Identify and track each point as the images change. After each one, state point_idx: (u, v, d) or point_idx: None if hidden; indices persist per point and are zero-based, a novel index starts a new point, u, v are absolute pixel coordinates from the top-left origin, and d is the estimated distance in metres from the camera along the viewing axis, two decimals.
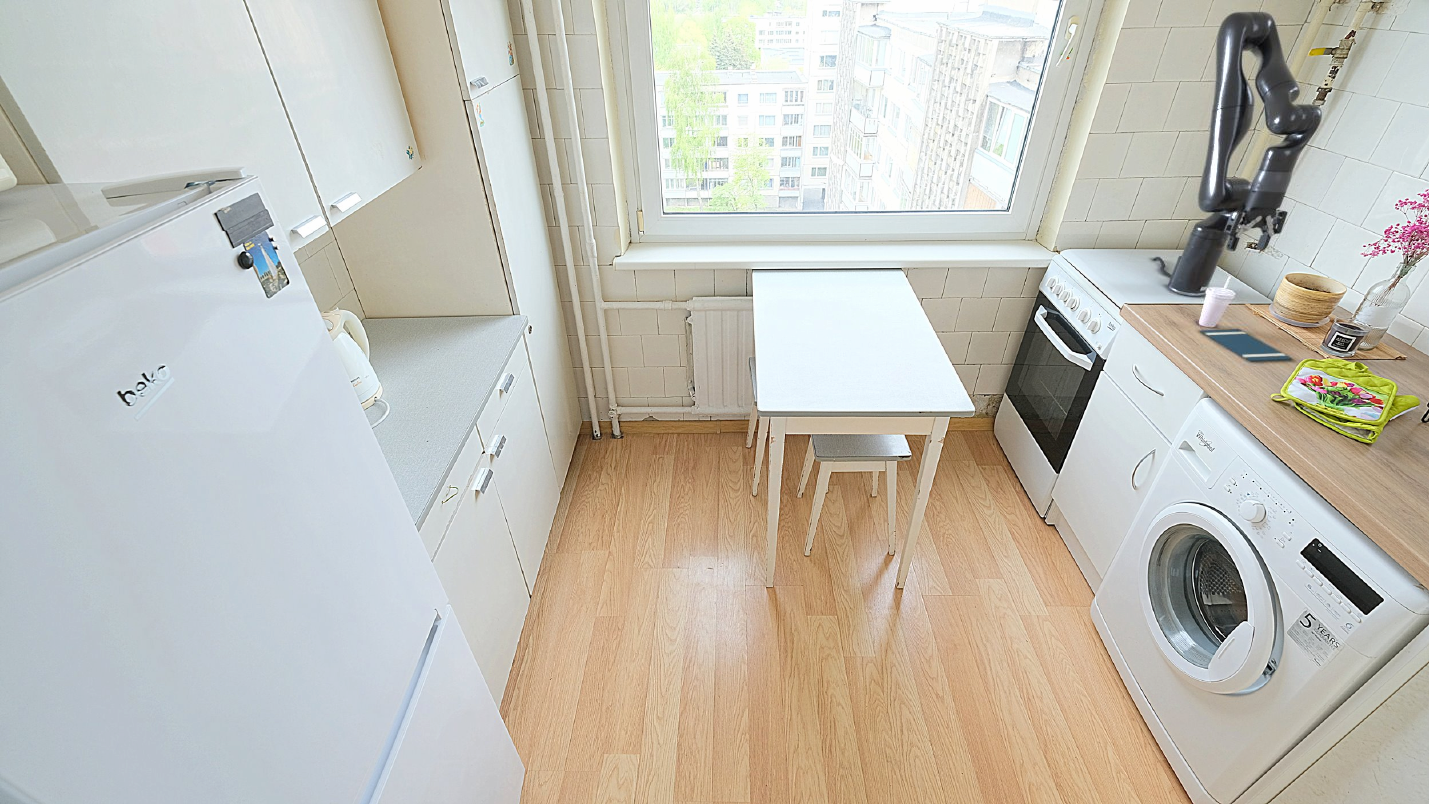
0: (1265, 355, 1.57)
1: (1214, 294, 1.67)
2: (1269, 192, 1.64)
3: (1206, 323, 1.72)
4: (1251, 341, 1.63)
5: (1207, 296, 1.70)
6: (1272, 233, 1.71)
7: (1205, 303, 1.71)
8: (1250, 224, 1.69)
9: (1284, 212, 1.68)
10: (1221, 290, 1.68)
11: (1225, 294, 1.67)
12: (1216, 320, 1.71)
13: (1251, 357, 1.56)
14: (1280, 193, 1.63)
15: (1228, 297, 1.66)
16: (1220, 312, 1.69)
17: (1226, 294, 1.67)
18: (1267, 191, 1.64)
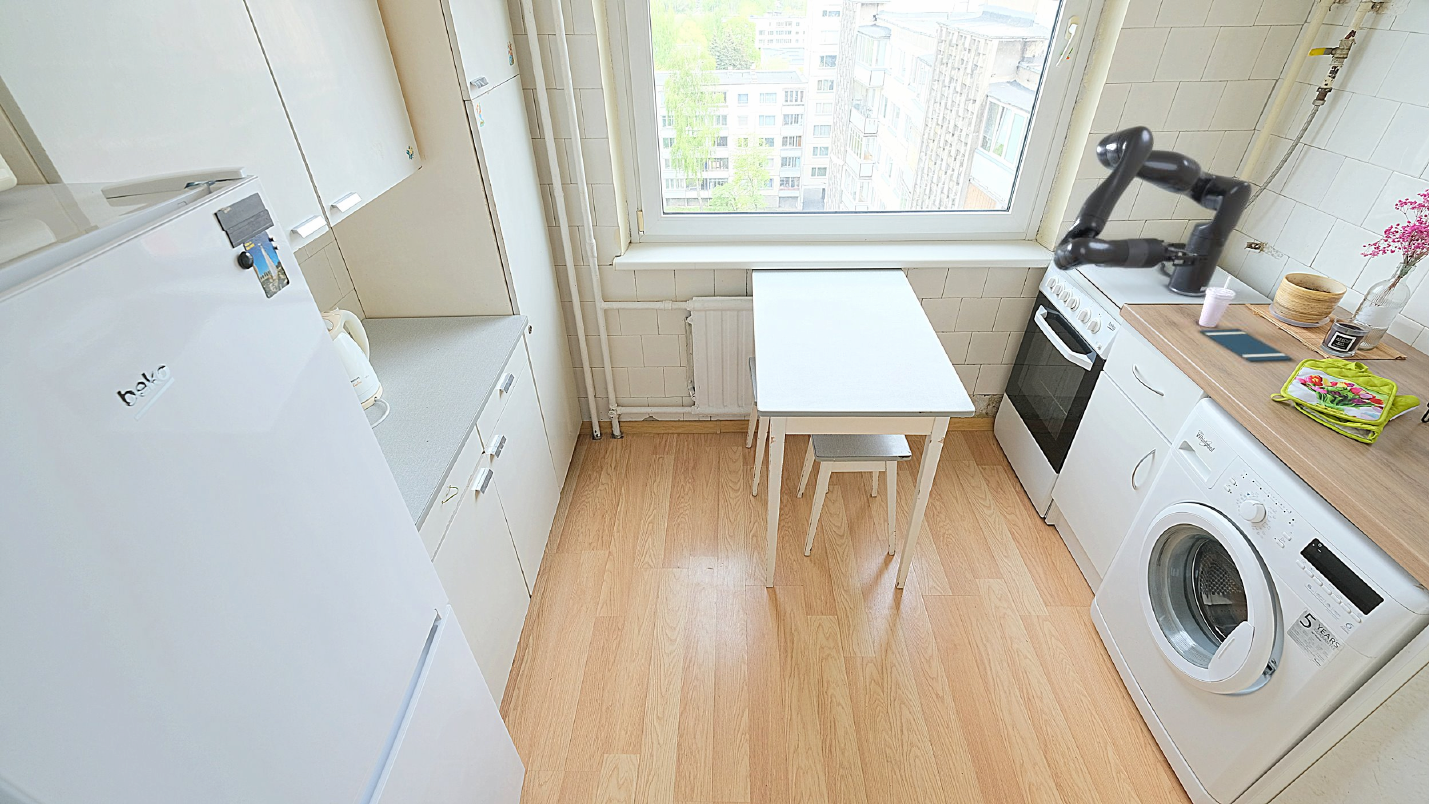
0: (1265, 355, 1.57)
1: (1214, 294, 1.67)
2: None
3: (1206, 323, 1.72)
4: (1251, 341, 1.63)
5: (1207, 296, 1.70)
6: None
7: (1205, 303, 1.71)
8: None
9: None
10: (1221, 290, 1.68)
11: (1225, 294, 1.67)
12: (1216, 320, 1.71)
13: (1251, 357, 1.56)
14: None
15: (1228, 297, 1.66)
16: (1220, 312, 1.69)
17: (1226, 294, 1.67)
18: None
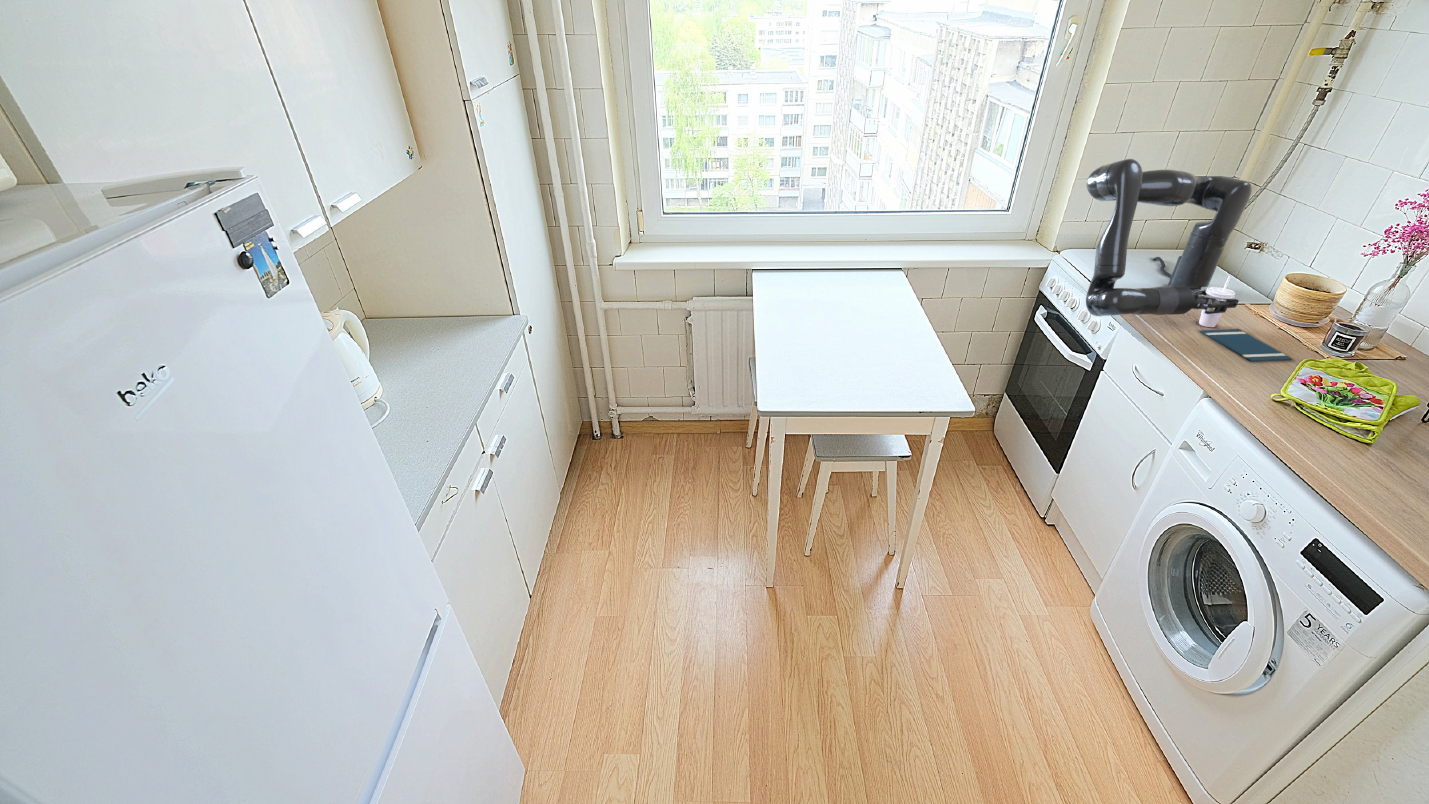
0: (1265, 355, 1.57)
1: (1214, 294, 1.67)
2: None
3: (1206, 322, 1.72)
4: (1251, 341, 1.63)
5: None
6: None
7: None
8: None
9: (1205, 312, 1.65)
10: (1221, 290, 1.68)
11: (1225, 294, 1.67)
12: (1216, 320, 1.71)
13: (1251, 357, 1.56)
14: None
15: (1228, 297, 1.66)
16: None
17: (1226, 294, 1.67)
18: None
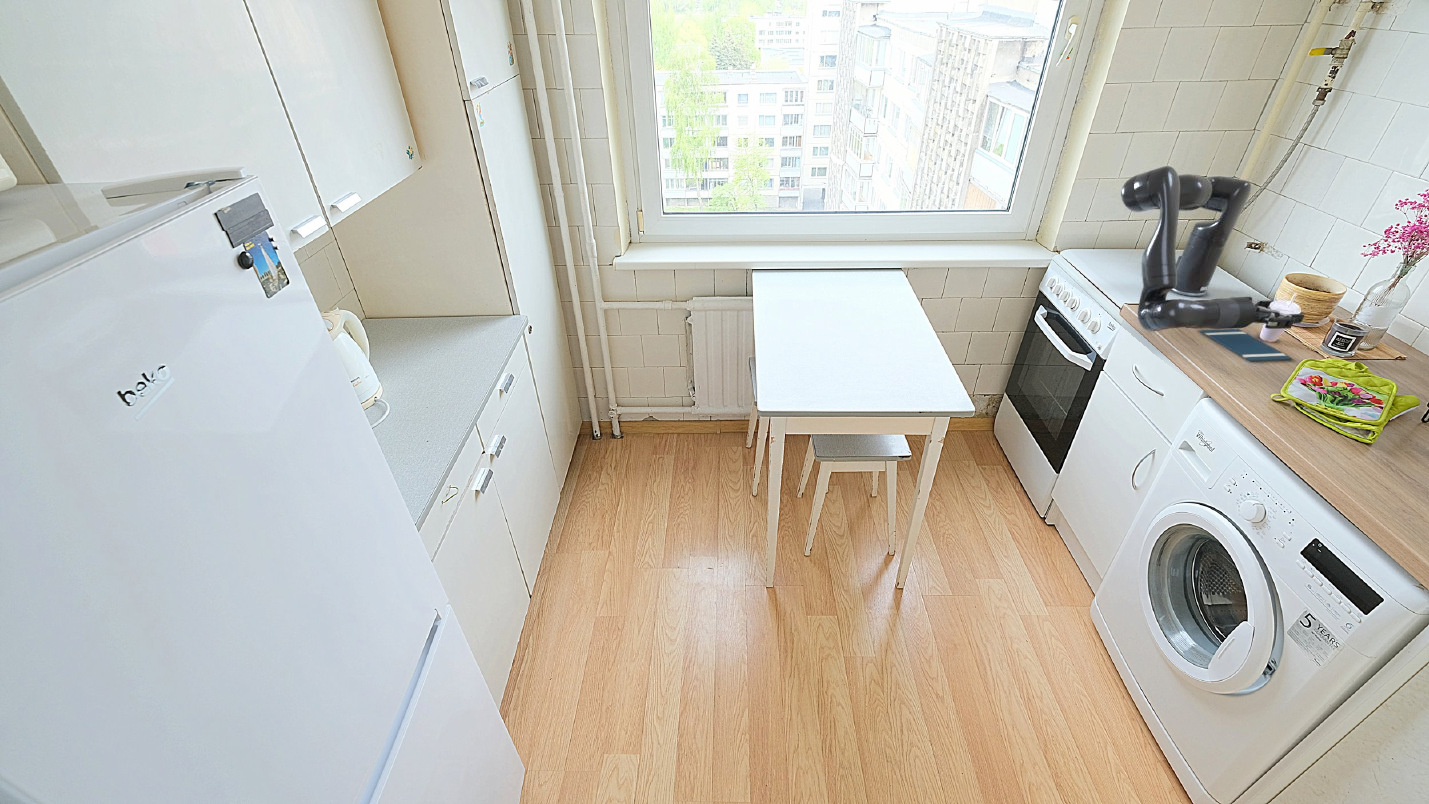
0: (1265, 355, 1.57)
1: None
2: None
3: (1268, 338, 1.64)
4: (1251, 341, 1.63)
5: None
6: None
7: None
8: None
9: None
10: (1285, 307, 1.58)
11: (1289, 313, 1.57)
12: (1279, 335, 1.62)
13: (1251, 357, 1.56)
14: None
15: None
16: (1283, 329, 1.60)
17: (1290, 313, 1.57)
18: None
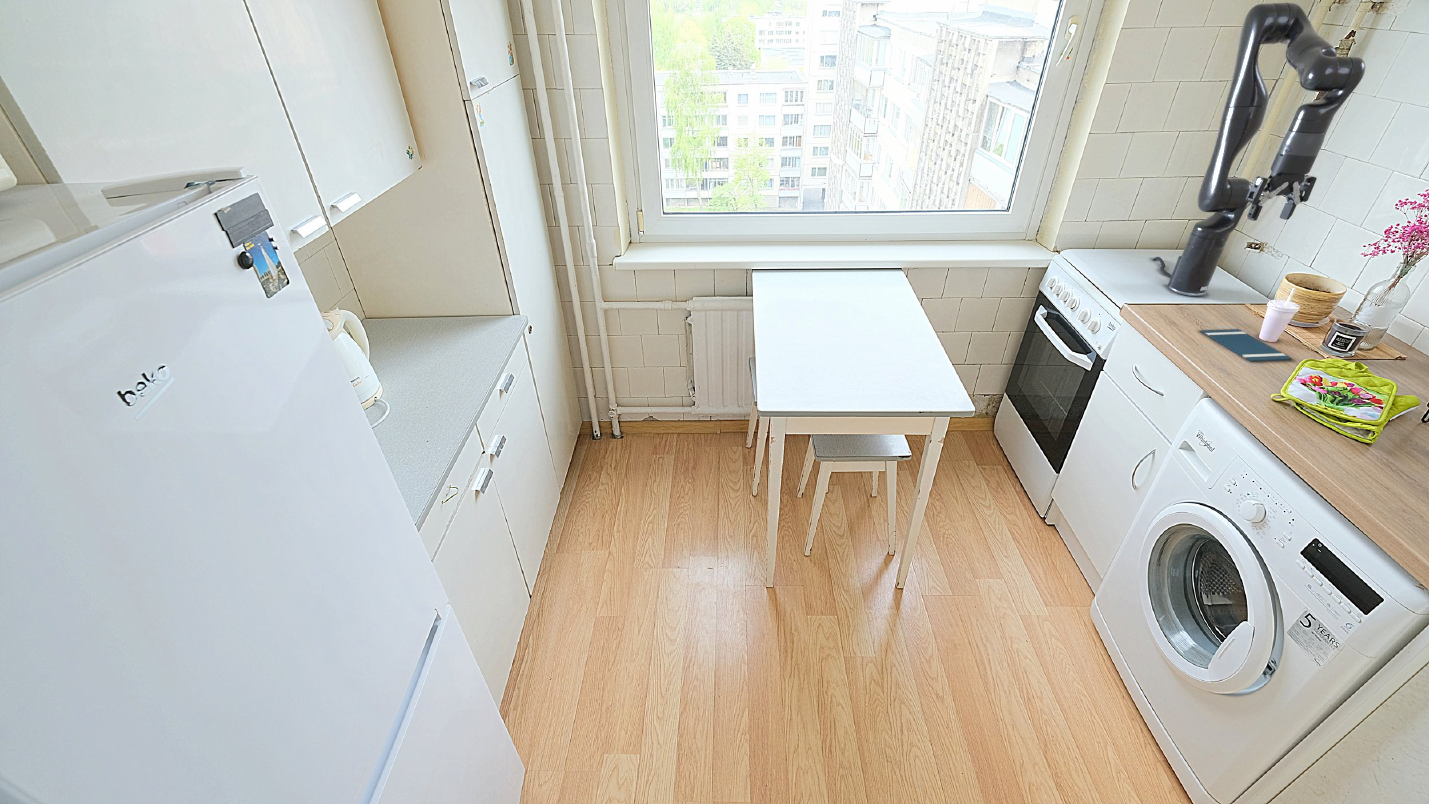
0: (1265, 355, 1.57)
1: (1276, 307, 1.60)
2: (1299, 156, 1.49)
3: (1268, 337, 1.64)
4: (1251, 341, 1.63)
5: (1268, 309, 1.62)
6: (1298, 201, 1.57)
7: (1266, 316, 1.63)
8: (1275, 191, 1.55)
9: (1313, 178, 1.54)
10: (1284, 303, 1.61)
11: (1288, 307, 1.59)
12: (1278, 334, 1.63)
13: (1251, 357, 1.56)
14: (1311, 157, 1.49)
15: (1292, 310, 1.58)
16: (1282, 326, 1.61)
17: (1289, 307, 1.59)
18: (1296, 155, 1.50)
